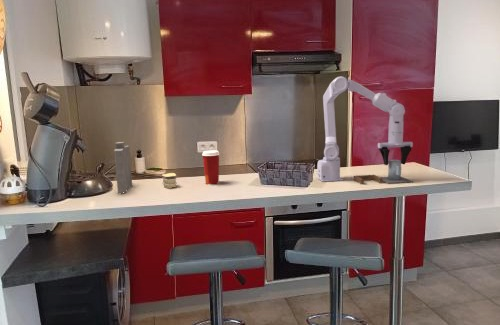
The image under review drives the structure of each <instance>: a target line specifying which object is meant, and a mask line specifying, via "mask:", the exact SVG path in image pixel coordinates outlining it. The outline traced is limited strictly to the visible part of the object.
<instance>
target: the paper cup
mask: <svg viewBox="0 0 500 325" xmlns="http://www.w3.org/2000/svg"><path fill="white" fill-rule="evenodd" d="M201 155H202V160H203V162H202V163H203V168H204V169H203V170H204V179H205V185H208V184H214V185H217V183H218V184H219V179H220V152H219V150H204V151H202V153H201Z"/></svg>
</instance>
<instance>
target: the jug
mask: <svg viewBox="0 0 500 325" xmlns="http://www.w3.org/2000/svg"><path fill="white" fill-rule="evenodd" d="M387 166H388V171H387V172H388V174H387V177H388V180H393V181H398V180H401V177H402V164H401V159H400V160H399V159H388V165H387Z"/></svg>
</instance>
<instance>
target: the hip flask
mask: <svg viewBox="0 0 500 325" xmlns="http://www.w3.org/2000/svg"><path fill="white" fill-rule="evenodd" d="M114 144H115V147H116V148H114V150H113V151H114V162H115V164H114V165H115V174H116V187H117V194H118V193H123V192H126V193H127V191H126V190H128V189H130V188H131V187H133V178H132V165H131V157H130V156H131V154H130V146H129V145H125V141H117V142H115V143H114Z"/></svg>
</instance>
